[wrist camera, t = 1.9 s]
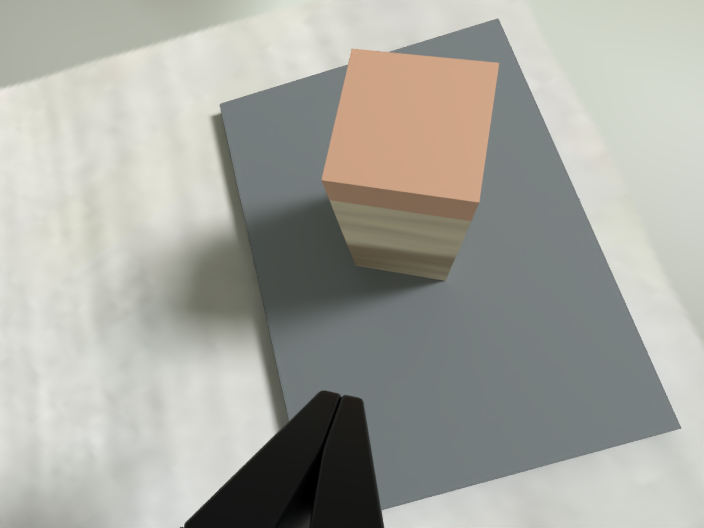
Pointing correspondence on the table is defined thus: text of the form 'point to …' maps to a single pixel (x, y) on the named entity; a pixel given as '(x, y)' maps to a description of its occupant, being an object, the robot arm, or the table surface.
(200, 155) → the table surface
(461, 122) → the beech block
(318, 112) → the slate mat
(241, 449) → the table surface
